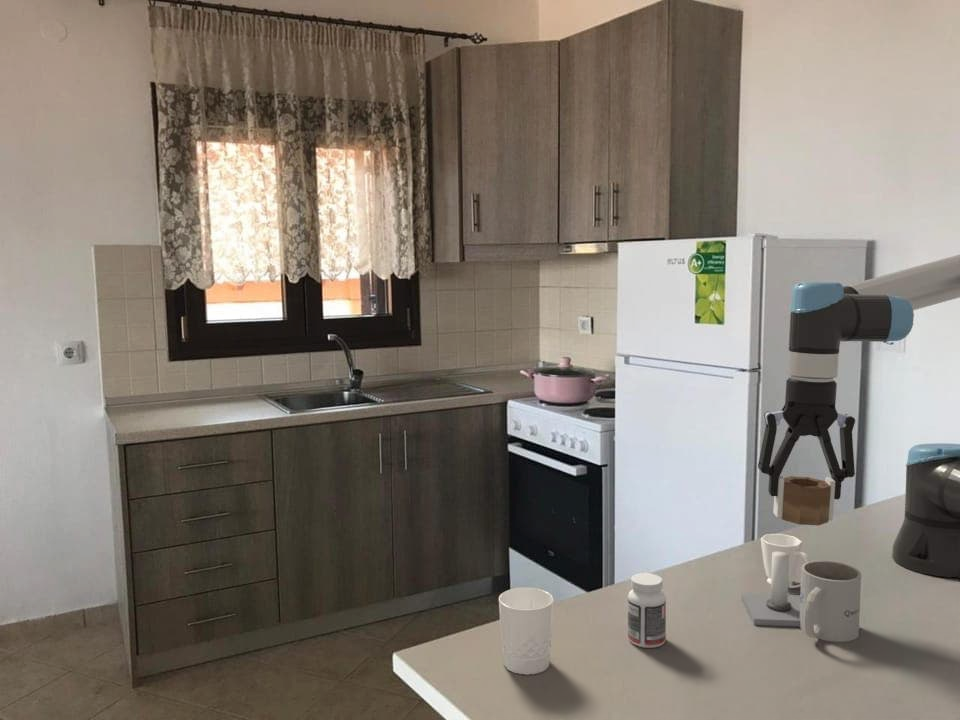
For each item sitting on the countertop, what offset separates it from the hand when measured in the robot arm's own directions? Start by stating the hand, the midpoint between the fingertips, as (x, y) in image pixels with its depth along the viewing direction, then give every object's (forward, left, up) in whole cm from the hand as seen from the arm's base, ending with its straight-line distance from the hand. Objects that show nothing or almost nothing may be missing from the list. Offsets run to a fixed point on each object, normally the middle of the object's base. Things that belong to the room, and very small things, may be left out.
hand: (802, 516), depth 132 cm
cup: (-1, -10, -16) cm, 19 cm away
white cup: (+44, +22, -16) cm, 52 cm away
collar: (0, 0, 0) cm, 0 cm away
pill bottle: (+26, +13, -16) cm, 34 cm away
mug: (-1, +8, -17) cm, 19 cm away
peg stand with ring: (+4, +1, -16) cm, 17 cm away
